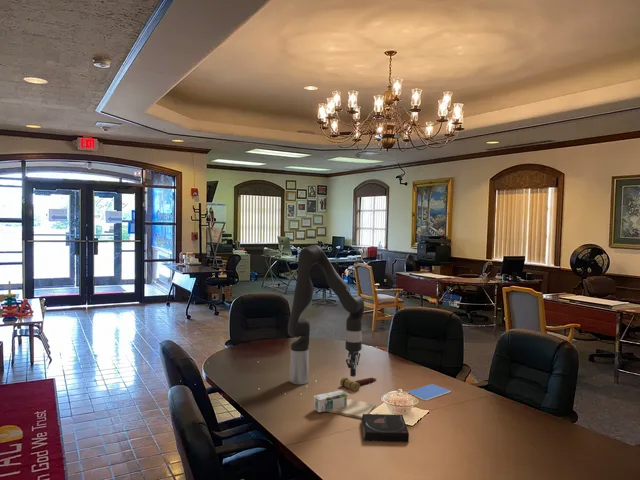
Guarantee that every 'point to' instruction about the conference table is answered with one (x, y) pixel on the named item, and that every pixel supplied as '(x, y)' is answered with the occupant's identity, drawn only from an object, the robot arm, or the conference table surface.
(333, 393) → the syrup box
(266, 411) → the conference table surface
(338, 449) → the conference table surface
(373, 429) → the portable cd player
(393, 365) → the conference table surface
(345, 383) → the gavel
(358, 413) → the folded beige cloth
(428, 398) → the tablet computer
